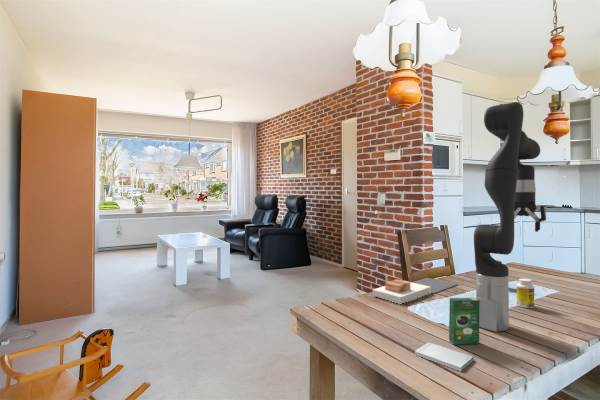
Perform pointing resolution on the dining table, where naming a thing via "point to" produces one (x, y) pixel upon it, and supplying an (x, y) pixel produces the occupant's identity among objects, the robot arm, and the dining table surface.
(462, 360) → the hard drive
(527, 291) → the supplement bottle
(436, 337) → the dining table surface
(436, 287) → the mat
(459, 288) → the dining table surface
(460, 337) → the coffee box
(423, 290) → the block
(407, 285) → the terracotta block
